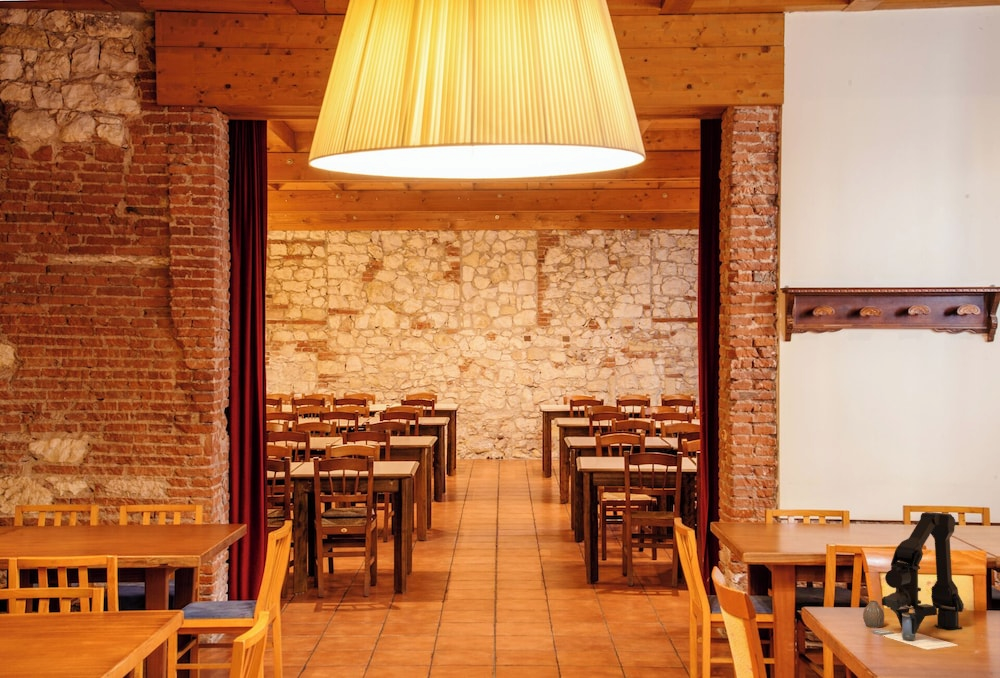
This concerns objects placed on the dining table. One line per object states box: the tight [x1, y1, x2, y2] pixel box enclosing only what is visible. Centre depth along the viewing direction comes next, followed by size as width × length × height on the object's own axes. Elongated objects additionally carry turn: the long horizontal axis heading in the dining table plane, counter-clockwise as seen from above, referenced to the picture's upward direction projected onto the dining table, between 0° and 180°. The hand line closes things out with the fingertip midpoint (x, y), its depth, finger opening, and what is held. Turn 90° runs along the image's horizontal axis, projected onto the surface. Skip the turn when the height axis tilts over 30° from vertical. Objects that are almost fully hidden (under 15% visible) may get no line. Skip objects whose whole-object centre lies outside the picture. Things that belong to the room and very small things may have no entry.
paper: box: [882, 632, 959, 651], centre depth 340 cm, size 13×19×1 cm
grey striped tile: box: [869, 628, 895, 636], centre depth 350 cm, size 6×5×1 cm
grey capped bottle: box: [901, 612, 915, 640], centre depth 340 cm, size 4×4×8 cm
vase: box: [862, 600, 885, 629], centre depth 360 cm, size 7×7×9 cm
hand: (908, 632), depth 340 cm, fingers closed on grey capped bottle, 4 cm apart
